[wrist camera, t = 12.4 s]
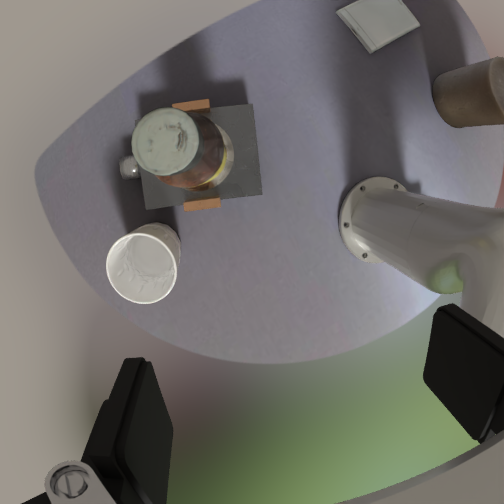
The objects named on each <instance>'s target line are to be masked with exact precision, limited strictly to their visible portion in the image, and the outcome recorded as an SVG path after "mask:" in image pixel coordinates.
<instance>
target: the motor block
mask: <svg viewBox="0 0 504 504" xmlns="http://www.w3.org/2000/svg"><path fill="white" fill-rule="evenodd" d="M172 107H173V108H178V109H181V110H183V111H185V112H193V113H198V114H201V115H203V116H205V117H207V118H209V119H210V120H211V121H212V122H213V123H214V124H215V125H216V126H217V128H218V129H219V131H220V133H221V135H222V137H223V140H224V144H225V147H226V150H227V159H226V163H225V166H224V168H223V170H222V171H221V173H220V174H219V175H218V176H217V177H216V178H214V179H213V180H211V181H209V182H207V183H204V184H201V185H198V186H195V187H174V186H171V185H168V184H165V183H164V182H162V181H161V180H159V179H158V178H157V177H156V176H155V175H154V174H151V173H149V172H147V171H146V170H144V169H143V168H142V167H141V166H140V165H139V164H138V163H137V161H136V160H135V158H134V155H129V156H124V157H121V158H120V163H119V166H120V173H121V176H122V178H123V180H129V179H134V178H140V177H141V180H142V187H143V194H144V201H145V208H146V210H150V209H157V208H163V207H170V206H177V205H184V211H185V212H187V211H194V210H201V209H209V208H216V207H221V202H220V200H221V199H229V198H237V197H246V196H255V195H262V186H261V176H260V166H259V157H258V148H257V138H256V129H255V120H254V111H253V104H243V105H233V106H223V107H214V108H210V104H209V99H204V100H196V101H189V102H182V103H176V104H172ZM140 120H141V119H138V120H135V126H136V125H137V123H138V122H139V121H140Z"/></svg>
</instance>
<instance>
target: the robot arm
mask: <svg viewBox="0 0 504 504" xmlns="http://www.w3.org/2000/svg"><path fill="white" fill-rule="evenodd" d="M360 187H361V188H362V189H361V190H360ZM344 223H346V224H345V225H344ZM339 230H340V235H341V237H342V240H343V243H344V244H345V246H346V247H347V249H348V250H349V251H350V252H351V253H352V254H353V255H354V256H356V257H357V258H359V259H360V260H362V261H365V262H369V263H383V262H386V263H387V264H389V265H390V266H392V267H394V268H395V269H397V270H398V271H400V272H402V273H403V274H405V275H406V276H408V277H409V278H411V279H412V280H414V281H416V282H417V283H419V284H421V285H422V286H424V287H425V288H427V289H428V290H430V291H433V292H435V293H439V294H453V293H458V292H462V296H461V300H460V305H459V307H458V306H457V305H455V304H453V303H452V304H448V305H444V306H441V307H439V308H438V309H437V311H436V313H435V314H434V316H433V322H432V329H431V335H430V341H429V347H428V352H427V357H426V363H425V367H424V372H423V379H424V382H425V383H426V385H427V386H428V387H429V388H430V389H431V391H432V392H433V393H434V394H435V395H436V396H437V397H438V399H439V400H440V401H441V402H442V403H443V404H444V406H445V407H446V408H447V409H448V410H449V411H450V412H451V414H452V415H453V416H454V417H455V418H456V420H457V421H458V422H459V423H460V424H461V426H462V427H463V428H464V429H465V430H466V432H467V433H468V434H469V435H470V436H471V437H472V439H474V440H477V441H478V442H479V443H480V445H478V446H476V447H475V448H473V449H471V450H469V451H467V452H465V453H464V454H462V455H460V456H458V457H456V458H454V459H452V460H450V461H448V462H446V463H444V464H442V465H440V466H438V467H435V468H433V469H431V470H429V471H427V472H424V473H422V474H420V475H417V476H415V477H413V478H410V479H408V480H406V481H403V482H401V483H398V484H395V485H393V486H390V487H387V488H385V489H381V490H379V491H376V492H373V493H370V494H367V495H363V496H360V497H357V498H354V499H351V500H347V501H343V502H340V503H337V504H504V208H489V207H479V206H474V205H468V204H462V203H458V202H453V201H449V200H444V199H439V198H435V197H430V196H425V195H420V194H415V193H410V192H408V191H407V190H406V188H405V187H404V186H402V185H401V184H400V183H399V182H397V181H395V180H394V179H391V178H387V177H371V178H367V179H365V180H363V181H361V182H359V183H358V184H356V185H355V186H354V187H353V188H352V189H351V190H350V191H349V193H348V194H347V196H346V197H345V199H344V201H343V203H342V206H341V209H340V215H339ZM363 253H364V254H363ZM362 254H363V255H362ZM495 434H496V435H495ZM172 439H173V426H172V422H171V419H170V416H169V414H168V411H167V408H166V405H165V402H164V400H163V397H162V394H161V391H160V388H159V385H158V382H157V379H156V376H155V373H154V369H153V366H152V363H151V362H150V361H149V362H146V361H145V359H144V358H143V357H139V358H126V359H125V360H124V362H123V364H122V367H121V369H120V372H119V374H118V377H117V379H116V381H115V384H114V386H113V389H112V391H111V394H110V396H109V399H108V400H105V401H104V402H103V404H102V406H101V408H100V411H99V413H98V416H97V419H96V421H95V424H94V427H93V429H92V432H91V434H90V437H89V440H88V442H87V445H86V448H85V451H84V453H83V456H82V459H81V462H79V461H66V462H63V463H60V464H58V465H56V466H55V467H53V468H52V469H51V470H50V471H49V472H48V474H47V476H46V478H45V489H46V492H44V493H43V494H40V495H38V496H36V497H34V498H32V499H30V500H28V501H26V502H24V503H22V504H166V501H167V488H168V478H169V468H170V458H171V447H172Z"/></svg>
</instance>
